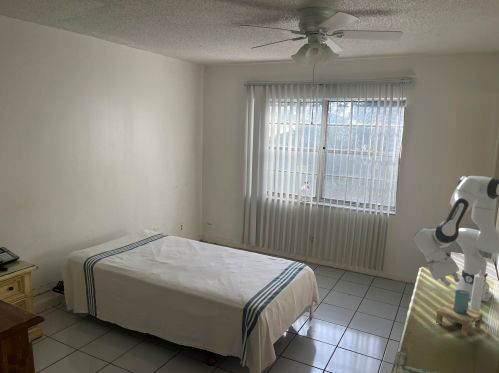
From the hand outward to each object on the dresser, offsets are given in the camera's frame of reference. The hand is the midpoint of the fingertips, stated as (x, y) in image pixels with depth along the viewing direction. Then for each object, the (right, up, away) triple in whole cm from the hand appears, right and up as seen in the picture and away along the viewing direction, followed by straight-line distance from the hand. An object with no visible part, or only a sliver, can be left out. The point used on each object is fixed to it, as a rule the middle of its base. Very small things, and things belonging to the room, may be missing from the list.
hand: (453, 283), depth 187 cm
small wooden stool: (+2, -20, -1) cm, 20 cm away
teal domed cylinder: (+2, -13, -2) cm, 13 cm away
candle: (+15, -19, +9) cm, 26 cm away
